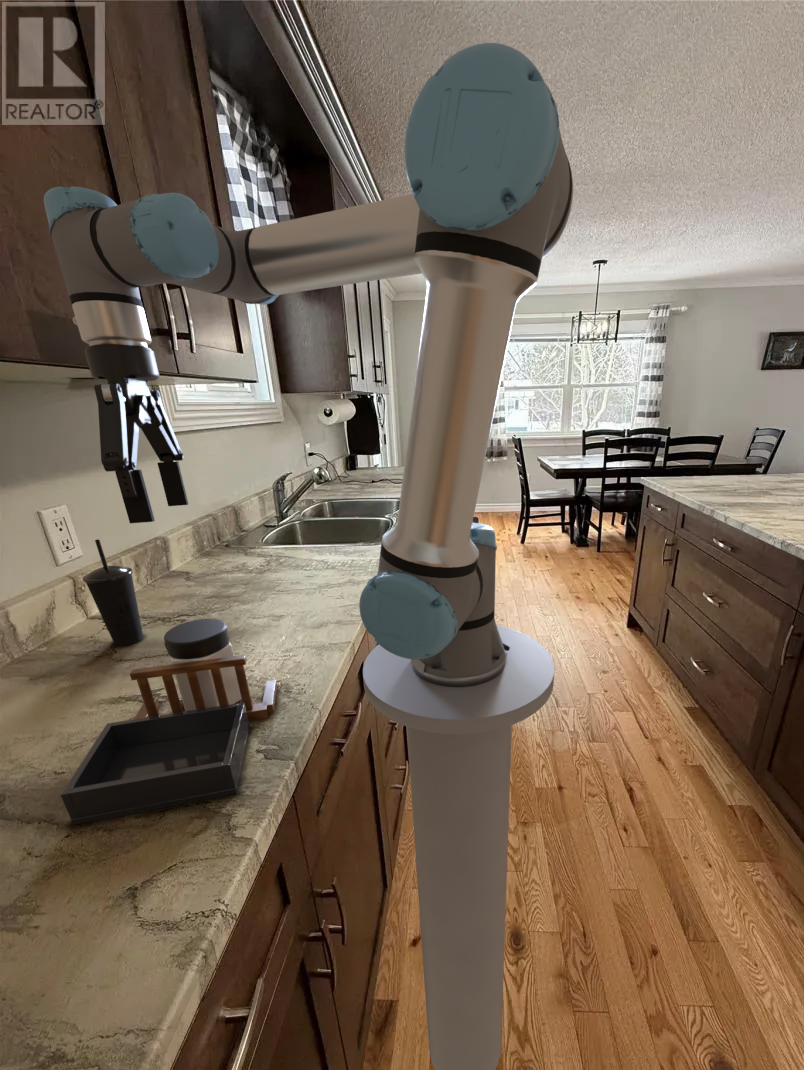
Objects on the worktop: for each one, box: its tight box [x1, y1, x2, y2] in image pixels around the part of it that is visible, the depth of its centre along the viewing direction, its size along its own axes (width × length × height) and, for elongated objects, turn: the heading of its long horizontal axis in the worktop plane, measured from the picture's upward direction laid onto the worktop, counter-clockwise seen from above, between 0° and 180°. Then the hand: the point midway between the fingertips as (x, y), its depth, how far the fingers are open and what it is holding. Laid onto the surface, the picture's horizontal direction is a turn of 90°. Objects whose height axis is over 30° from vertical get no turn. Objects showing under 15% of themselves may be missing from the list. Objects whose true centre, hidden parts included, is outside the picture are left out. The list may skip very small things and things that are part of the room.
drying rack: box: [129, 654, 278, 722], centre depth 69 cm, size 18×8×10 cm, turn 104°
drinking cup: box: [82, 539, 144, 647], centre depth 89 cm, size 8×8×20 cm
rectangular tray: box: [60, 702, 251, 826], centre depth 59 cm, size 17×13×4 cm
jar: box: [163, 618, 242, 712], centre depth 71 cm, size 9×8×12 cm
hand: (162, 513), depth 69 cm, fingers open, 13 cm apart
